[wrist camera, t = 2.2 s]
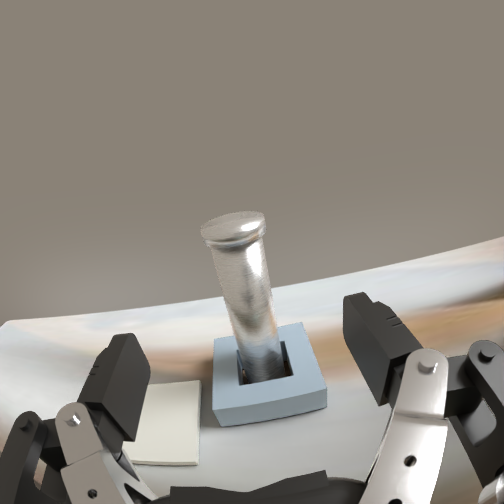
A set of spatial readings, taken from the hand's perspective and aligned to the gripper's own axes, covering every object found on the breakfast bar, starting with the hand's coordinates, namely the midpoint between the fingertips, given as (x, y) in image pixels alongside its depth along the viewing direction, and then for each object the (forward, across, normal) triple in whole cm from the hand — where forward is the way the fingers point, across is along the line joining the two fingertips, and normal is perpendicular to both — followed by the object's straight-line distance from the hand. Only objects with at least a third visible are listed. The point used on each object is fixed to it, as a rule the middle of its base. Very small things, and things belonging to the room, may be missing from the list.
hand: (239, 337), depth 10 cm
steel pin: (+12, 0, +16) cm, 20 cm away
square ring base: (+15, 0, +16) cm, 22 cm away
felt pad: (+8, +12, +16) cm, 21 cm away
